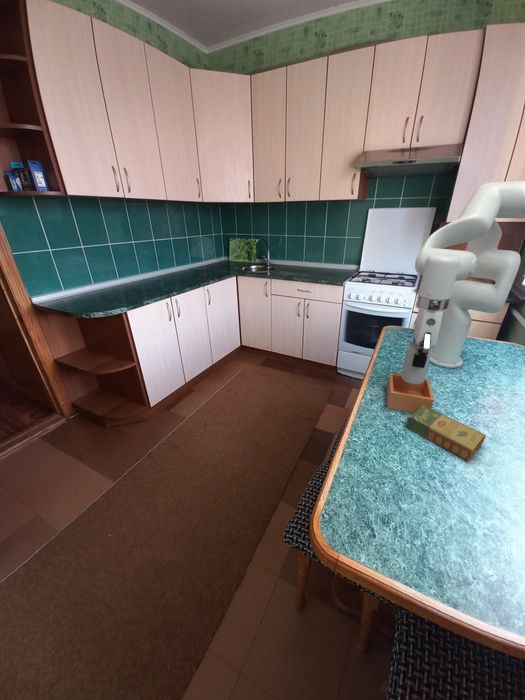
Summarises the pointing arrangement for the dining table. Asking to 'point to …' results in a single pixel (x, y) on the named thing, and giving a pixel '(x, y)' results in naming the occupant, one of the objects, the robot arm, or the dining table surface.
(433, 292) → the robot arm
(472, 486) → the dining table surface
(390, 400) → the bin
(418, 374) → the beverage can
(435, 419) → the carton
